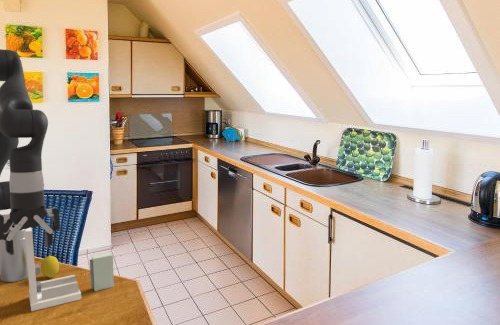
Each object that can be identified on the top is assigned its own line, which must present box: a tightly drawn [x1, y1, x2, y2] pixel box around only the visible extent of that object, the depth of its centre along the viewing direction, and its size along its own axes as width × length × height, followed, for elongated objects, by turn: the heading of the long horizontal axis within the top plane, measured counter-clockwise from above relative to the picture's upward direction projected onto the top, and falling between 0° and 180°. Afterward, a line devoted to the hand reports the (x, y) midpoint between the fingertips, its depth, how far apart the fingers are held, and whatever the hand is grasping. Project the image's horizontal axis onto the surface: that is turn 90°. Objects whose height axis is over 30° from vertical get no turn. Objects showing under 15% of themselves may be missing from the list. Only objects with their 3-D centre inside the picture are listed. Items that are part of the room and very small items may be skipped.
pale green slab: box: [89, 252, 115, 292], centre depth 127 cm, size 7×3×11 cm, turn 122°
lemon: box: [40, 255, 60, 279], centre depth 133 cm, size 6×6×8 cm
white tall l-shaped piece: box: [25, 228, 82, 312], centre depth 119 cm, size 14×9×24 cm, turn 122°
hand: (30, 250), depth 102 cm, fingers open, 8 cm apart
